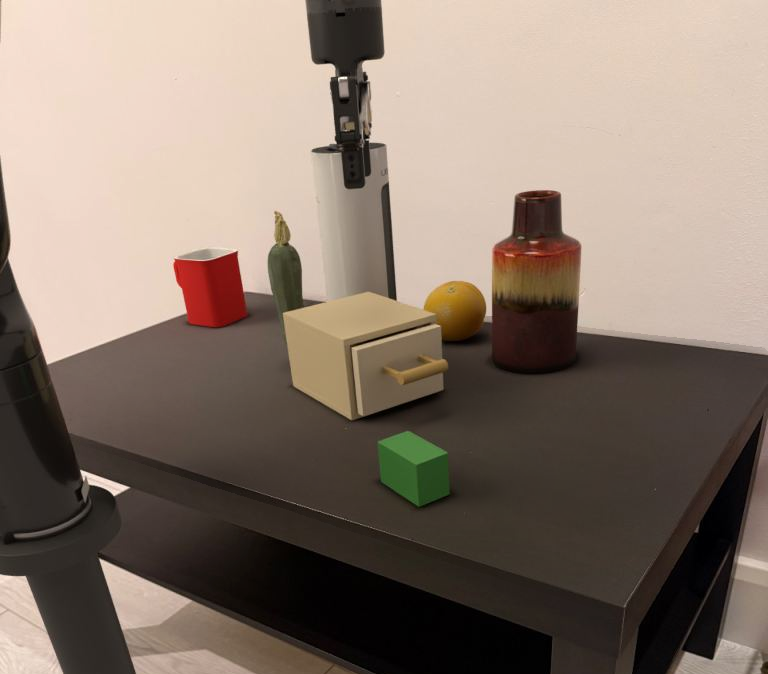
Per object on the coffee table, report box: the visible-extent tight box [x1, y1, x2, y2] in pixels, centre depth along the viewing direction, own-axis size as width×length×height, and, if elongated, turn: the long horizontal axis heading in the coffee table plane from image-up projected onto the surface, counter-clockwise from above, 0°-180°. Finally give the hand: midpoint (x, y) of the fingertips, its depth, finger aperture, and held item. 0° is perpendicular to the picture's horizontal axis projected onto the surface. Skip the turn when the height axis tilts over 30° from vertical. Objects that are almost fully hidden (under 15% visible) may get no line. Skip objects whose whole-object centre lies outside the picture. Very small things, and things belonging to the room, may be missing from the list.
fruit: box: [423, 280, 487, 342], centre depth 108 cm, size 9×8×8 cm
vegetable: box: [267, 210, 305, 349], centre depth 101 cm, size 4×4×20 cm
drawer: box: [350, 324, 449, 417], centre depth 91 cm, size 18×11×8 cm, turn 34°
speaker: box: [310, 142, 398, 302], centre depth 109 cm, size 11×10×26 cm
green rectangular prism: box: [377, 430, 451, 508], centre depth 72 cm, size 6×4×4 cm, turn 34°
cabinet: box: [283, 292, 440, 421], centre depth 94 cm, size 15×13×10 cm
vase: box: [491, 189, 582, 374], centre depth 96 cm, size 11×11×20 cm
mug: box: [172, 246, 248, 328], centre depth 126 cm, size 12×8×11 cm
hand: (358, 182), depth 85 cm, fingers open, 8 cm apart
